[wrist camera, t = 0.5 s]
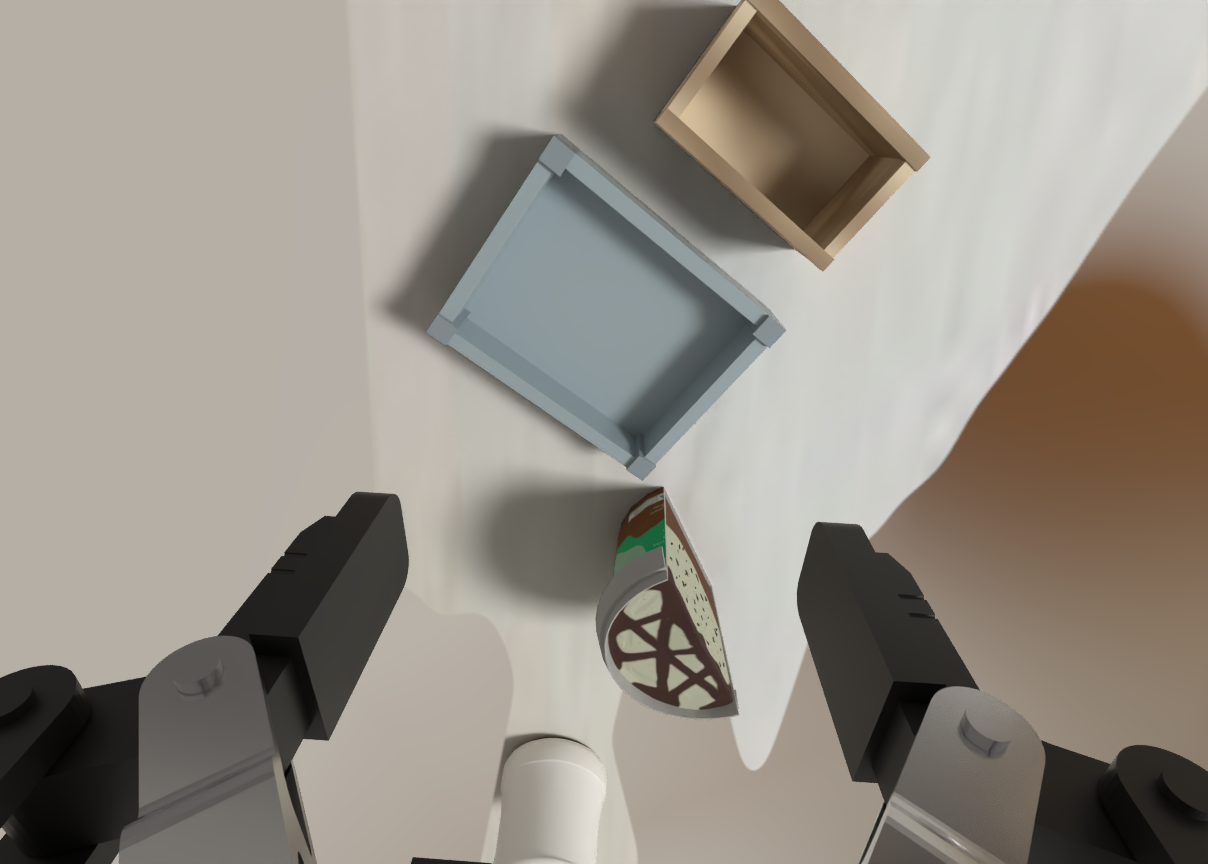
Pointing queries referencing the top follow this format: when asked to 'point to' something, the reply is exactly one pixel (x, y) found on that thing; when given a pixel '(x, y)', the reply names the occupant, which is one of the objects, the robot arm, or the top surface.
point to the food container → (664, 619)
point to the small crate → (789, 131)
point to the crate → (603, 312)
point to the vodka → (551, 804)
